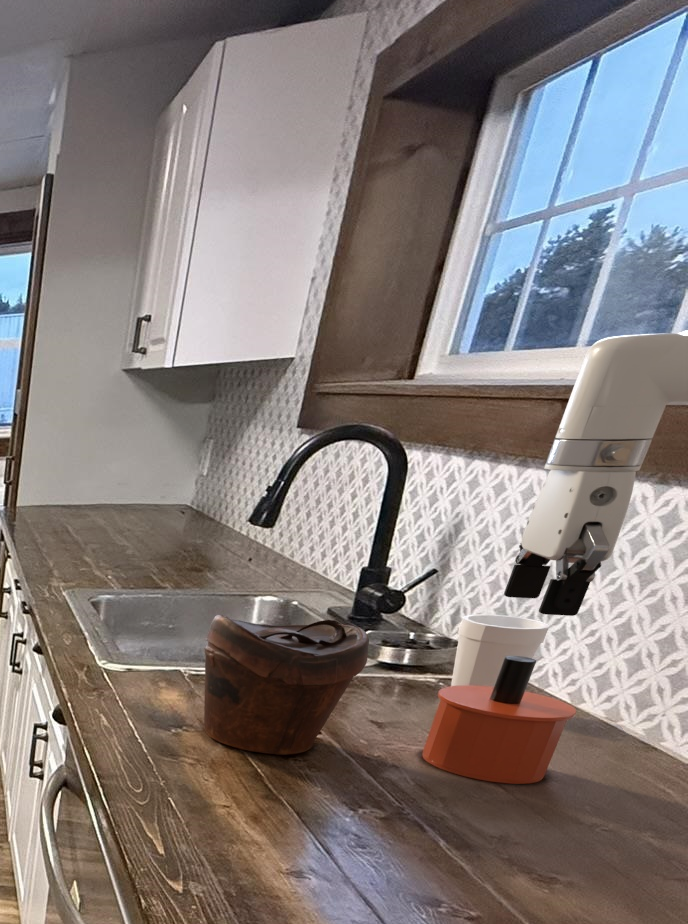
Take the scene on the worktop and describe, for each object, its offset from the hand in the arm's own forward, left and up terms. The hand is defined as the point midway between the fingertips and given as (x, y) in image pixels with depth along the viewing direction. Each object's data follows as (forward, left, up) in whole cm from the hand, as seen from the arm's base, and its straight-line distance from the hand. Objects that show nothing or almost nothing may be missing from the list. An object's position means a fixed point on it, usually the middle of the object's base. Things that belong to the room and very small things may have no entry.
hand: (538, 605), depth 99 cm
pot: (0, 0, -21) cm, 21 cm away
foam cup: (-8, -29, -21) cm, 37 cm away
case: (+24, -1, -21) cm, 32 cm away
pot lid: (0, 0, -13) cm, 13 cm away
